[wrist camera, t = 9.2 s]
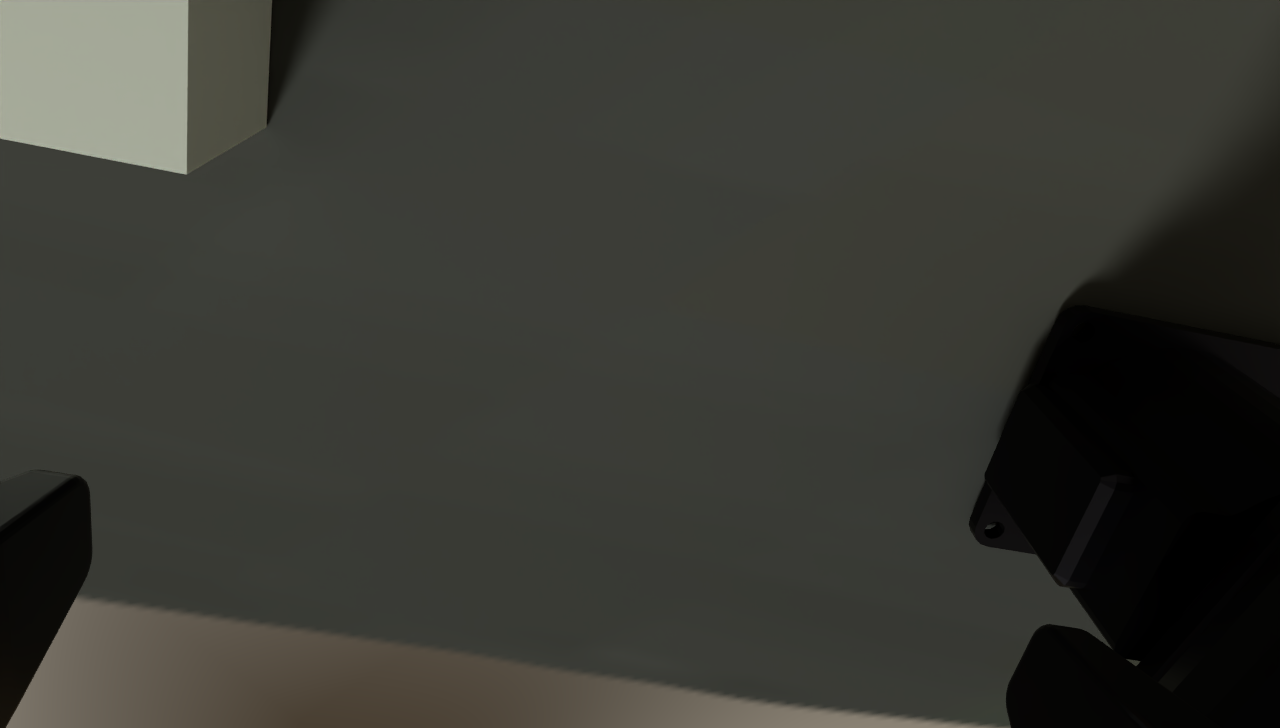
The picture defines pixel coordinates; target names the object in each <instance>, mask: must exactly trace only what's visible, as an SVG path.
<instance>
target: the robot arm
mask: <svg viewBox="0 0 1280 728" xmlns="http://www.w3.org/2000/svg"><path fill="white" fill-rule="evenodd" d="M1082 322H1087V325H1086V328H1085V330H1084V331H1083V332H1082V333H1080V334H1078V335H1074V336H1072V335H1073V330H1074V329H1075V327H1076V326H1077V325H1079V324H1080V323H1082ZM985 479H986V483H985V485H984V487H983V489H982V492H981V494H980V496H979V499H978V501H977V503H976V506H975V508H974V510H973V512H972V515H971V517H970V521H969V527H970V530H971V532H972V533H973V535H974V537H975V538H976V540H977V541H978V542H979V543H980V544H982V545H985V546H988V547H994V548H1000V549H1006V550H1012V551H1019V552H1025V553H1031V554H1036V555H1037V556H1038V558H1039V559H1040V561H1041V562H1042V563H1043V565H1044V566H1045V568H1046V569H1047V571H1048V572H1049V574H1050V575H1051V577H1052V578H1053V579H1054V581H1055V582H1056V583H1057V584H1058V585H1059V586H1061V587H1068V588H1070V590H1071V591H1072V593H1073V594H1074V595H1075V597H1076V598H1077V600H1078V601H1079V602H1080V604H1081V605H1082V607H1083V608H1084V610H1085V611H1086V612H1087V614H1088V615H1089V617H1090V618H1091V620H1092V621H1093V622H1094V624H1095V625H1096V627H1097V628H1098V630H1099V631H1100V632H1101V634H1102V635H1103V637H1104V638H1105V639H1106V641H1107V642H1108V644H1109V645H1110V647H1111V648H1112V649H1113V650H1112V649H1111V648H1110V647H1108V646H1107V645H1105V644H1104V643H1103V642H1101V641H1100V640H1098V639H1097V638H1096V637H1094V636H1093V635H1091V634H1090V633H1088V632H1087V631H1084V630H1082V629H1078V628H1072V627H1065V626H1058V625H1052V624H1047V625H1043V626H1041V627H1040V628H1038V629H1037V630H1036V631H1035V633H1034V634H1033V636H1032V638H1031V640H1030V642H1029V644H1028V646H1027V648H1026V650H1025V652H1024V654H1023V656H1022V658H1021V660H1020V662H1019V664H1018V666H1017V668H1016V670H1015V672H1014V674H1013V676H1012V678H1011V680H1010V682H1009V684H1008V688H1007V692H1006V708H1007V713H1008V717H1009V721H1010V725H1011V728H1280V345H1279V344H1274V343H1269V342H1264V341H1259V340H1254V339H1249V338H1244V337H1239V336H1234V335H1229V334H1224V333H1219V332H1214V331H1209V330H1204V329H1199V328H1194V327H1189V326H1184V325H1179V324H1174V323H1169V322H1164V321H1159V320H1154V319H1149V318H1144V317H1139V316H1134V315H1129V314H1124V313H1119V312H1114V311H1109V310H1104V309H1099V308H1094V307H1089V306H1074V307H1071V308H1068V309H1067V310H1065V311H1064V312H1063V313H1061V314H1060V316H1059V317H1058V319H1057V320H1056V322H1055V324H1054V326H1053V329H1052V331H1051V333H1050V336H1049V338H1048V340H1047V342H1046V345H1045V347H1044V349H1043V352H1042V354H1041V356H1040V359H1039V361H1038V363H1037V365H1036V368H1035V370H1034V372H1033V375H1032V377H1031V379H1030V382H1029V384H1028V386H1026V387H1025V388H1024V389H1023V390H1022V391H1021V392H1020V394H1019V396H1018V398H1017V401H1016V403H1015V405H1014V408H1013V410H1012V412H1011V414H1010V417H1009V419H1008V421H1007V424H1006V426H1005V428H1004V431H1003V433H1002V435H1001V438H1000V440H999V442H998V444H997V447H996V449H995V451H994V454H993V456H992V458H991V461H990V463H989V465H988V468H987V470H986V472H985ZM992 522H998V523H997V524H996V526H995V527H993V528H991V529H985V528H986V526H987V525H988V524H990V523H992ZM91 560H92V530H91V506H90V491H89V487H88V484H87V482H86V481H85V480H84V479H83V478H82V477H80V476H78V475H71V474H65V473H58V472H52V471H45V470H31V471H28V472H25V473H22V474H20V475H17V476H14V477H11V478H9V479H6V480H3V481H1V482H0V728H6V726H7V724H8V723H9V721H10V719H11V717H12V716H13V714H14V712H15V710H16V709H17V707H18V705H19V703H20V701H21V699H22V698H23V696H24V694H25V692H26V690H27V688H28V686H29V684H30V682H31V681H32V679H33V677H34V675H35V673H36V671H37V669H38V668H39V666H40V664H41V662H42V660H43V658H44V656H45V654H46V652H47V651H48V649H49V647H50V645H51V643H52V641H53V640H54V638H55V636H56V634H57V632H58V630H59V628H60V626H61V625H62V623H63V621H64V619H65V617H66V615H67V613H68V611H69V610H70V608H71V606H72V604H73V602H74V600H75V598H76V597H77V595H78V593H79V591H80V589H81V587H82V585H83V583H84V581H85V579H86V577H87V575H88V572H89V569H90V565H91ZM1126 659H1130V660H1137V661H1141V662H1140V663H1139V664H1138V665H1137V666H1135V665H1133V664H1132V663H1130V662H1129V661H1128V660H1126Z"/></svg>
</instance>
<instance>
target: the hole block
mask: <svg viewBox="0 0 1280 728" xmlns="http://www.w3.org/2000/svg"><path fill="white" fill-rule="evenodd" d="M271 15H272V0H0V138H1V139H6V140H11V141H16V142H21V143H27V144H32V145H37V146H42V147H47V148H52V149H57V150H63V151H68V152H73V153H78V154H83V155H88V156H94V157H99V158H104V159H109V160H114V161H119V162H125V163H130V164H135V165H140V166H145V167H150V168H156V169H161V170H166V171H171V172H176V173H181V174H188V173H190V172H192V171H194V170H195V169H197V168H199V167H200V166H202V165H204V164H205V163H207V162H209V161H210V160H212V159H214V158H216V157H217V156H219V155H221V154H222V153H224V152H226V151H227V150H229V149H231V148H233V147H234V146H236V145H238V144H239V143H241V142H243V141H244V140H246V139H248V138H250V137H251V136H253V135H255V134H256V133H258V132H260V131H261V130H263V129H265V128H266V127H267V105H268V82H269V60H270V38H271Z"/></svg>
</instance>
